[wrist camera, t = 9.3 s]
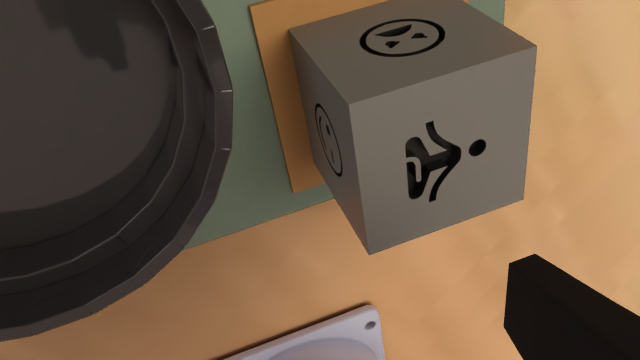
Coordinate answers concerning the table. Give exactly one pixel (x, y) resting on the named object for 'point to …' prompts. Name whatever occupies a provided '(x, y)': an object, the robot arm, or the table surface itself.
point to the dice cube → (416, 114)
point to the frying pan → (103, 149)
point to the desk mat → (272, 111)
